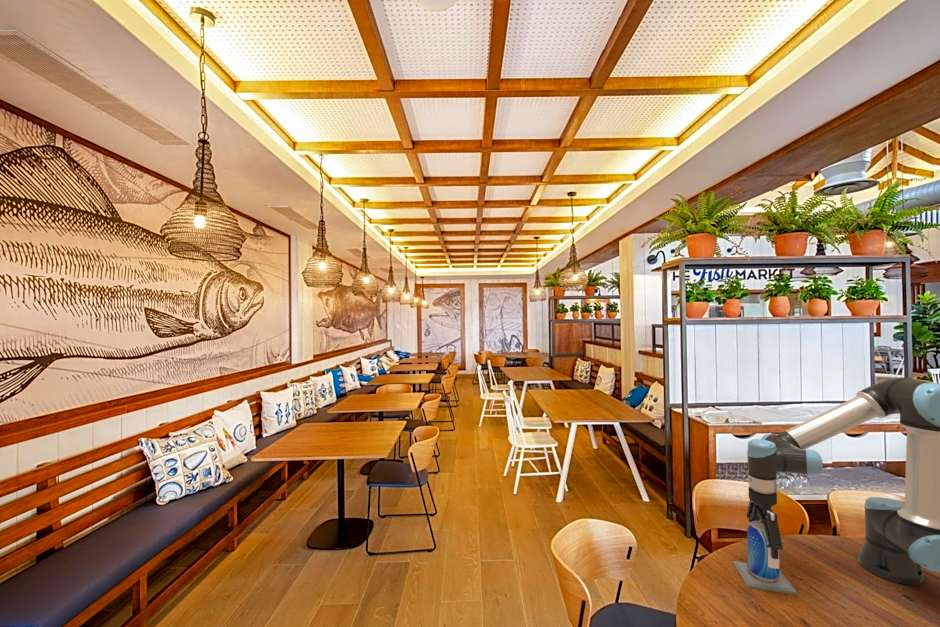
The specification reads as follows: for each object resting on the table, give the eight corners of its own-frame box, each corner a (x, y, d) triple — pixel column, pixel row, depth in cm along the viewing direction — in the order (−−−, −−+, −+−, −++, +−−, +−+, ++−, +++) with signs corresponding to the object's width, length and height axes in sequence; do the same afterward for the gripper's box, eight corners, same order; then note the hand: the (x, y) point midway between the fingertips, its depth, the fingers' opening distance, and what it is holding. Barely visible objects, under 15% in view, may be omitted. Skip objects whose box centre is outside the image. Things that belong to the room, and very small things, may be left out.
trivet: (776, 568, 138) (776, 565, 138) (796, 594, 125) (796, 591, 125) (732, 562, 141) (732, 560, 141) (748, 587, 128) (748, 584, 128)
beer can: (784, 585, 128) (784, 534, 128) (754, 581, 130) (754, 531, 129) (771, 568, 136) (770, 520, 136) (742, 565, 138) (742, 518, 138)
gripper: (734, 473, 146) (736, 533, 146) (766, 505, 122) (768, 577, 122) (759, 475, 144) (760, 535, 144) (795, 508, 120) (797, 580, 120)
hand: (763, 554), depth 133 cm, fingers open, 13 cm apart
